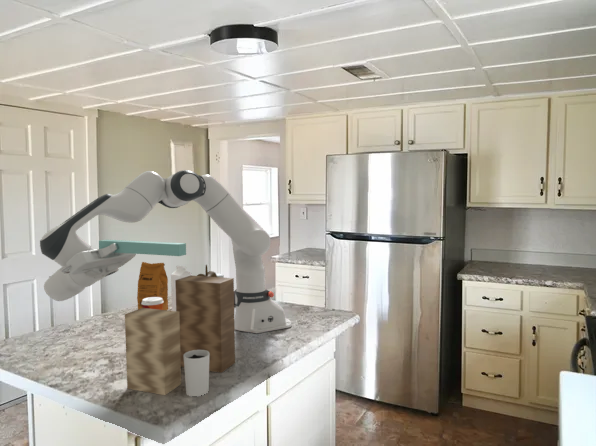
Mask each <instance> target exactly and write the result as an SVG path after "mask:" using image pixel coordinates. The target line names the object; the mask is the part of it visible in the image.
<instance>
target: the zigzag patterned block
mask: <svg viewBox="0 0 596 446" xmlns="http://www.w3.org/2000/svg"><path fill="white" fill-rule="evenodd" d="M124 329H125V331H124V332H125V333H124V334H125V360H126V363H125V364H126V365H125V366H126V383H127V385H126V387H127V389H128V390H134V391H140V392H144V393H152V394H157V395H161V396H166V395H168V394H170V393H171V392H172V391H174V390H175V389H177V388H178V387H179V386H181V385H182V367H181V356H180V318H179V311H172V310H169V309H168V310H159V309H149V308H141V309H138V308H137V309H136V310H134V311H133V310H132V311H131V312H127V313H124Z"/></svg>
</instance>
